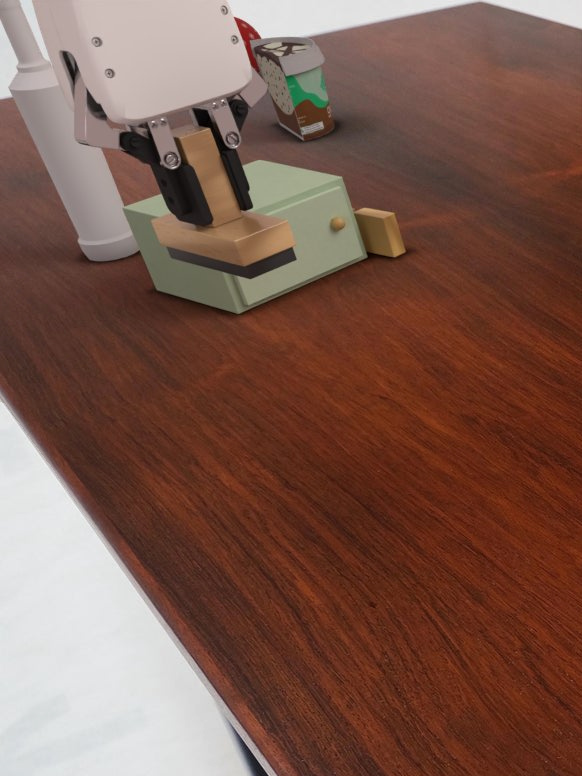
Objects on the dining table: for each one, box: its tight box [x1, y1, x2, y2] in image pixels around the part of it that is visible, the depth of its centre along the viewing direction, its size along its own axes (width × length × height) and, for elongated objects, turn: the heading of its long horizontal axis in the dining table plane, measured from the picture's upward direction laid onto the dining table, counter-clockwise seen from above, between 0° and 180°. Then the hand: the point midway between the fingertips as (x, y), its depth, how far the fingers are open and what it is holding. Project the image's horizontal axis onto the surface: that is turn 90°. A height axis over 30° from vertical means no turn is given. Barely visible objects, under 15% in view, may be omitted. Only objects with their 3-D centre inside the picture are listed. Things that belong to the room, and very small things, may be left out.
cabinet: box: [122, 159, 368, 315], centre depth 119 cm, size 14×14×8 cm
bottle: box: [0, 0, 140, 262], centre depth 120 cm, size 5×5×25 cm
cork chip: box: [353, 207, 407, 258], centre depth 124 cm, size 4×4×2 cm
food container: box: [250, 36, 335, 142], centre depth 157 cm, size 12×6×10 cm, turn 41°
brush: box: [151, 123, 297, 279], centre depth 85 cm, size 4×9×9 cm, turn 61°
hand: (215, 212), depth 86 cm, fingers closed on brush, 2 cm apart
